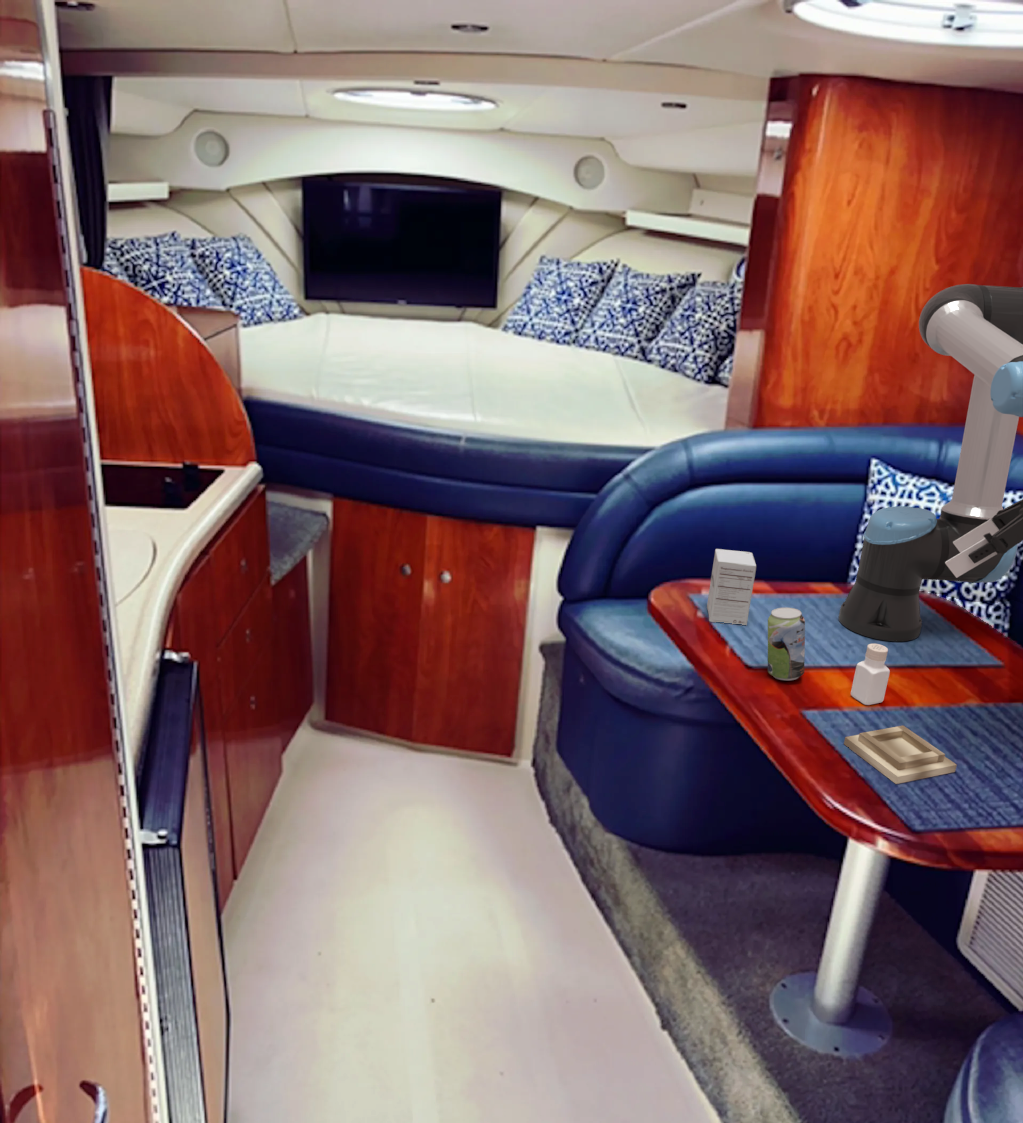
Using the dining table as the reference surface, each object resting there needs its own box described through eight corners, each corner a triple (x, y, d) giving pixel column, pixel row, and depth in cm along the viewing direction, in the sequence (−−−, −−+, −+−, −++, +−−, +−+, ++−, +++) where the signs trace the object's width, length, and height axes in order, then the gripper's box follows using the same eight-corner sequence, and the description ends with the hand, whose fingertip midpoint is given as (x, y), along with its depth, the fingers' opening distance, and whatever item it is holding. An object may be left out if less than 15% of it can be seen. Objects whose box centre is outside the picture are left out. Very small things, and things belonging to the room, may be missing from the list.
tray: (900, 733, 149) (903, 720, 148) (955, 771, 140) (958, 757, 139) (843, 743, 145) (846, 730, 144) (896, 784, 136) (899, 769, 135)
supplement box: (705, 607, 192) (714, 547, 187) (743, 611, 191) (753, 551, 186) (707, 622, 185) (717, 560, 180) (747, 626, 184) (757, 565, 179)
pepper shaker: (865, 707, 157) (877, 654, 153) (848, 695, 160) (859, 643, 157) (884, 703, 158) (896, 651, 155) (866, 692, 162) (878, 640, 158)
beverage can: (804, 687, 162) (816, 622, 158) (759, 680, 163) (770, 615, 159) (801, 670, 168) (813, 607, 163) (758, 664, 169) (769, 601, 165)
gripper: (1112, 516, 126) (964, 601, 137) (1102, 484, 147) (975, 559, 158) (1075, 470, 126) (931, 558, 137) (1071, 445, 147) (946, 522, 158)
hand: (954, 559), depth 148 cm, fingers open, 13 cm apart
